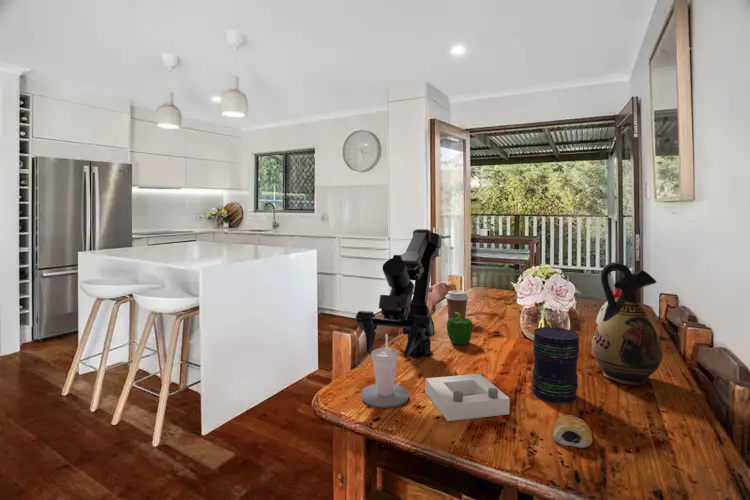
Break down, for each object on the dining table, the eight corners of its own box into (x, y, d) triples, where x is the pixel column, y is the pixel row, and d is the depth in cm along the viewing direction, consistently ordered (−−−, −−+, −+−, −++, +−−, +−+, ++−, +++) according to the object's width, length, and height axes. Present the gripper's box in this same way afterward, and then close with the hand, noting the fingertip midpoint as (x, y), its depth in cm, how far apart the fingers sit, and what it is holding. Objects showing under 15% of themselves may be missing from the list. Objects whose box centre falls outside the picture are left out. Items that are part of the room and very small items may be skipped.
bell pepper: (474, 347, 133) (475, 316, 132) (449, 346, 133) (449, 316, 132) (469, 339, 142) (470, 310, 141) (445, 339, 142) (445, 310, 141)
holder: (425, 392, 99) (425, 372, 99) (479, 387, 102) (479, 367, 102) (447, 421, 86) (447, 397, 85) (509, 414, 88) (509, 391, 88)
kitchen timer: (590, 323, 162) (591, 285, 160) (628, 324, 160) (630, 286, 159) (604, 333, 148) (606, 292, 147) (646, 334, 146) (648, 292, 145)
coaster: (351, 396, 97) (351, 392, 97) (385, 383, 105) (385, 379, 105) (383, 412, 89) (383, 408, 89) (418, 397, 97) (418, 393, 96)
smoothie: (385, 401, 92) (385, 339, 91) (365, 392, 97) (365, 333, 96) (404, 392, 97) (404, 333, 96) (384, 384, 102) (384, 328, 100)
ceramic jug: (649, 371, 113) (656, 261, 110) (669, 394, 98) (677, 268, 95) (580, 363, 118) (584, 259, 115) (589, 384, 104) (594, 265, 101)
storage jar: (574, 408, 91) (577, 341, 90) (527, 397, 96) (529, 335, 95) (579, 391, 100) (581, 330, 98) (536, 383, 105) (538, 325, 103)
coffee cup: (444, 324, 160) (445, 293, 159) (444, 318, 169) (445, 289, 168) (469, 325, 159) (469, 294, 158) (467, 319, 168) (468, 290, 167)
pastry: (555, 421, 86) (556, 403, 85) (592, 429, 83) (593, 411, 82) (551, 443, 78) (552, 424, 77) (592, 453, 74) (593, 433, 74)
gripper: (357, 279, 104) (339, 334, 95) (431, 283, 98) (419, 343, 88) (369, 303, 112) (353, 356, 103) (437, 308, 106) (427, 365, 96)
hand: (386, 355), depth 97 cm, fingers open, 9 cm apart
